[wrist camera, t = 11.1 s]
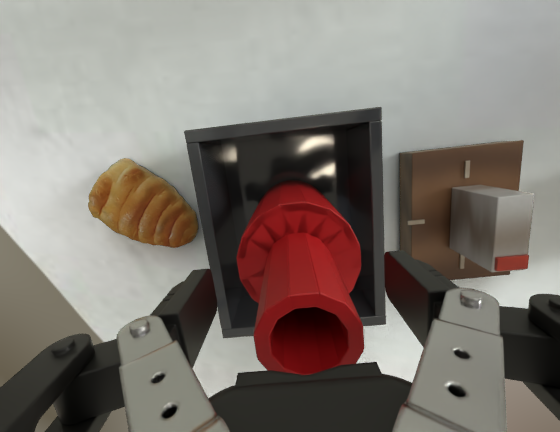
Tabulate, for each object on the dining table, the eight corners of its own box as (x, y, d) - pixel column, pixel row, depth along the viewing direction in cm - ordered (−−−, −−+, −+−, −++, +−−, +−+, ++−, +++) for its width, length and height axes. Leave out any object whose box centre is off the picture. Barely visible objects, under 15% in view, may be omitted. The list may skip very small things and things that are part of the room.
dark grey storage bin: (214, 137, 24) (183, 130, 17) (351, 120, 23) (381, 106, 16) (239, 289, 28) (223, 338, 20) (358, 278, 27) (386, 324, 20)
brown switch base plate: (395, 153, 24) (408, 153, 22) (503, 141, 24) (530, 139, 21) (396, 272, 27) (408, 284, 24) (493, 263, 26) (515, 275, 24)
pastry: (214, 203, 25) (202, 212, 22) (185, 258, 27) (169, 275, 23) (126, 153, 24) (97, 153, 21) (100, 213, 26) (69, 223, 22)
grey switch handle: (451, 187, 22) (500, 197, 17) (480, 184, 22) (538, 193, 17) (449, 247, 23) (494, 274, 18) (476, 245, 23) (529, 271, 18)
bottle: (253, 184, 24) (184, 254, 7) (325, 176, 24) (418, 230, 7) (262, 251, 26) (222, 432, 9) (330, 244, 25) (416, 418, 9)
